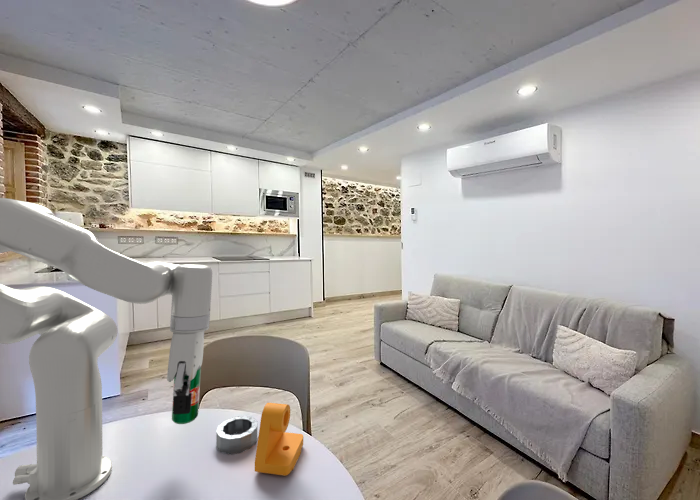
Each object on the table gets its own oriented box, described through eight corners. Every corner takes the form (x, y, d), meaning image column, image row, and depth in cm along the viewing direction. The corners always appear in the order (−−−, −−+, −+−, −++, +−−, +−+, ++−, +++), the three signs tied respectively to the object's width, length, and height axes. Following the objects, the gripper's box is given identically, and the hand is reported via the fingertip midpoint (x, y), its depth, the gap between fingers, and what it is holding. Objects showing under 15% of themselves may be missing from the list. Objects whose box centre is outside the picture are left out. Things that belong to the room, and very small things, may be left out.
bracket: (288, 480, 62) (289, 421, 62) (254, 475, 64) (254, 417, 63) (304, 445, 73) (304, 395, 73) (275, 442, 74) (275, 392, 74)
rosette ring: (213, 456, 69) (213, 441, 69) (220, 432, 78) (220, 418, 77) (256, 450, 71) (256, 435, 71) (258, 427, 80) (258, 414, 80)
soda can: (187, 427, 64) (190, 369, 64) (165, 423, 65) (169, 366, 65) (203, 414, 69) (206, 361, 69) (182, 411, 70) (186, 358, 70)
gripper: (182, 313, 74) (178, 388, 74) (156, 333, 58) (150, 430, 58) (216, 313, 76) (211, 387, 76) (200, 333, 59) (194, 427, 60)
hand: (185, 405), depth 67 cm, fingers closed on soda can, 5 cm apart
